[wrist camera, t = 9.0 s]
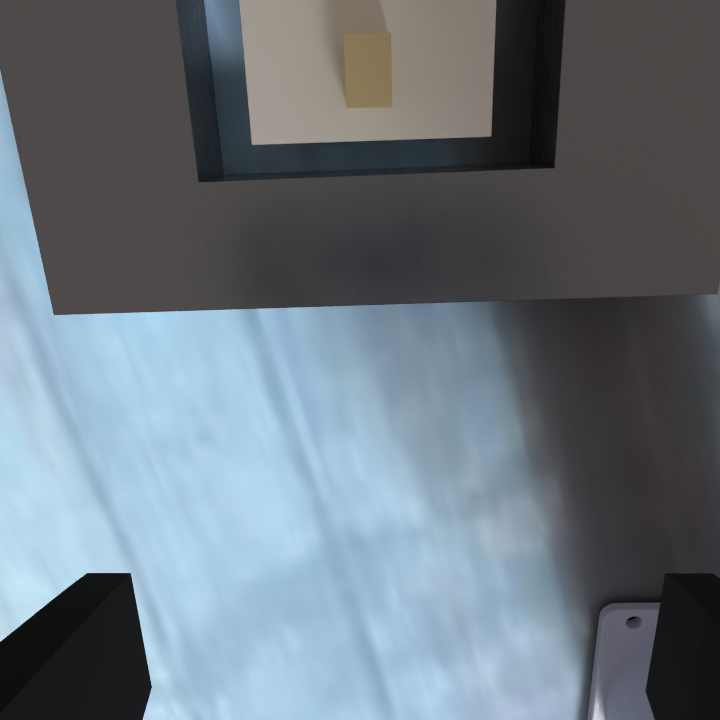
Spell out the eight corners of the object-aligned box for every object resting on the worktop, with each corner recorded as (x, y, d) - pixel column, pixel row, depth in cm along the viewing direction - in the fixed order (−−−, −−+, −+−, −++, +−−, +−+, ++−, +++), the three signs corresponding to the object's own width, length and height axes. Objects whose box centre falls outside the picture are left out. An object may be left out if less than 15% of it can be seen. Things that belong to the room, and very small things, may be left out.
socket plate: (750, -304, 13) (854, -424, 10) (672, 271, 17) (731, 300, 14) (-9, -251, 13) (-111, -352, 11) (95, 291, 18) (41, 322, 15)
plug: (455, -49, 15) (514, -186, 8) (451, 133, 16) (499, 137, 10) (284, -41, 15) (212, -169, 8) (296, 138, 16) (242, 146, 10)
